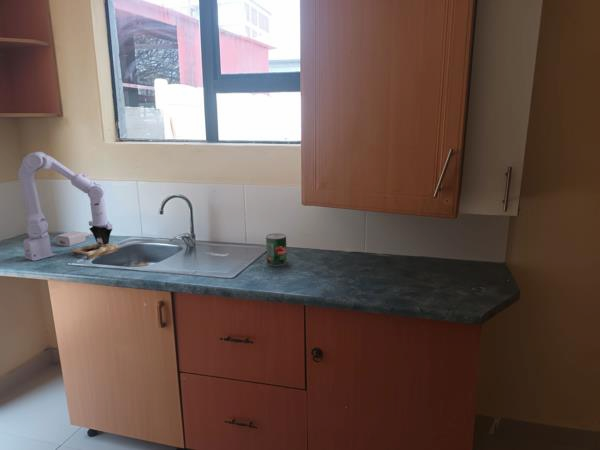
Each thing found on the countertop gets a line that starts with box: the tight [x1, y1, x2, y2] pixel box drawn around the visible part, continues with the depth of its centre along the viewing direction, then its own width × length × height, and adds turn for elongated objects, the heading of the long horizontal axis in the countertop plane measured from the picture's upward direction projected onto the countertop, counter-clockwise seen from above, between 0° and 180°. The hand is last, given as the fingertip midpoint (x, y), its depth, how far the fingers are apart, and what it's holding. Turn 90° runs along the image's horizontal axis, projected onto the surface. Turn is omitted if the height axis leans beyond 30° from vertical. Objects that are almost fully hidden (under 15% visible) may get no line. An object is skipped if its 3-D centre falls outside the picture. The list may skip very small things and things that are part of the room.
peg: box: [96, 236, 106, 249], centre depth 195 cm, size 5×5×6 cm
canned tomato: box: [265, 232, 288, 267], centre depth 173 cm, size 8×8×11 cm
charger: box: [54, 230, 92, 247], centre depth 211 cm, size 5×9×15 cm
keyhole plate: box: [71, 242, 120, 260], centre depth 192 cm, size 14×12×2 cm
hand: (102, 243), depth 195 cm, fingers closed on peg, 4 cm apart
